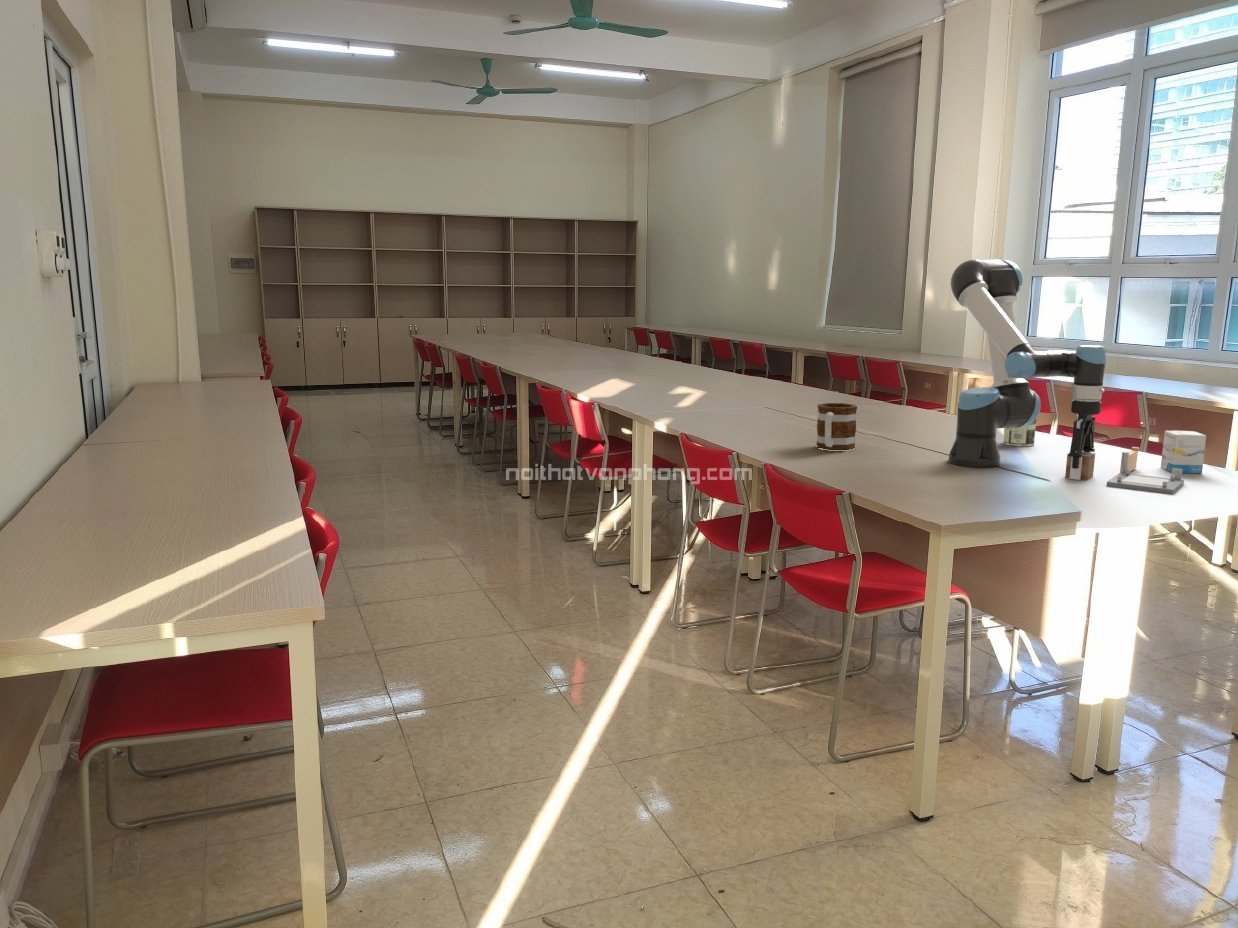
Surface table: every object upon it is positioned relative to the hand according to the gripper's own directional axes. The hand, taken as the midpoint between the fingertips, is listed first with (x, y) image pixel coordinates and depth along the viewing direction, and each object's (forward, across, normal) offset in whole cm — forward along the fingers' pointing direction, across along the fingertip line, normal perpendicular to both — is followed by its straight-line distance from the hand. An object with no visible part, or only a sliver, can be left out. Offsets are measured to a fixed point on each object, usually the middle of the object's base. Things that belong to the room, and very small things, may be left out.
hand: (1079, 476), depth 260 cm
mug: (0, -5, +76) cm, 76 cm away
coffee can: (0, +46, +31) cm, 56 cm away
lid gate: (0, +17, -9) cm, 20 cm away
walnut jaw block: (0, 0, 0) cm, 0 cm away
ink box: (+1, +29, -21) cm, 36 cm away
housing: (0, +1, -17) cm, 17 cm away
